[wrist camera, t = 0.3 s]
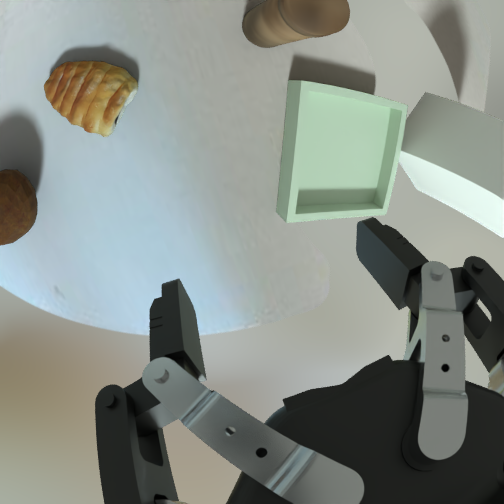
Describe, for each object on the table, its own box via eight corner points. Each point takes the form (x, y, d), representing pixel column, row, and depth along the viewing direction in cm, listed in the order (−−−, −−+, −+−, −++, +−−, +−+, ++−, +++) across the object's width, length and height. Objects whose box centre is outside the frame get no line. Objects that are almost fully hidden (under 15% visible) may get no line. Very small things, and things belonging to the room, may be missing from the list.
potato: (-23, 192, 20) (-57, 223, 14) (30, 145, 21) (-4, 165, 14) (6, 240, 24) (-19, 279, 18) (60, 201, 25) (37, 236, 19)
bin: (288, 80, 26) (301, 80, 24) (392, 101, 31) (407, 105, 29) (276, 212, 35) (286, 222, 33) (373, 206, 40) (386, 214, 37)
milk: (416, 189, 41) (539, 276, 21) (387, 145, 35) (550, 237, 14) (449, 140, 38) (571, 207, 17) (425, 92, 32) (579, 152, 11)
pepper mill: (242, 3, 20) (290, -32, 11) (289, 11, 22) (351, -12, 13) (239, 45, 23) (286, 26, 14) (286, 51, 24) (349, 42, 16)
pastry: (39, 108, 19) (25, 112, 16) (69, 48, 17) (57, 42, 14) (113, 138, 24) (108, 144, 21) (145, 78, 22) (144, 76, 19)
